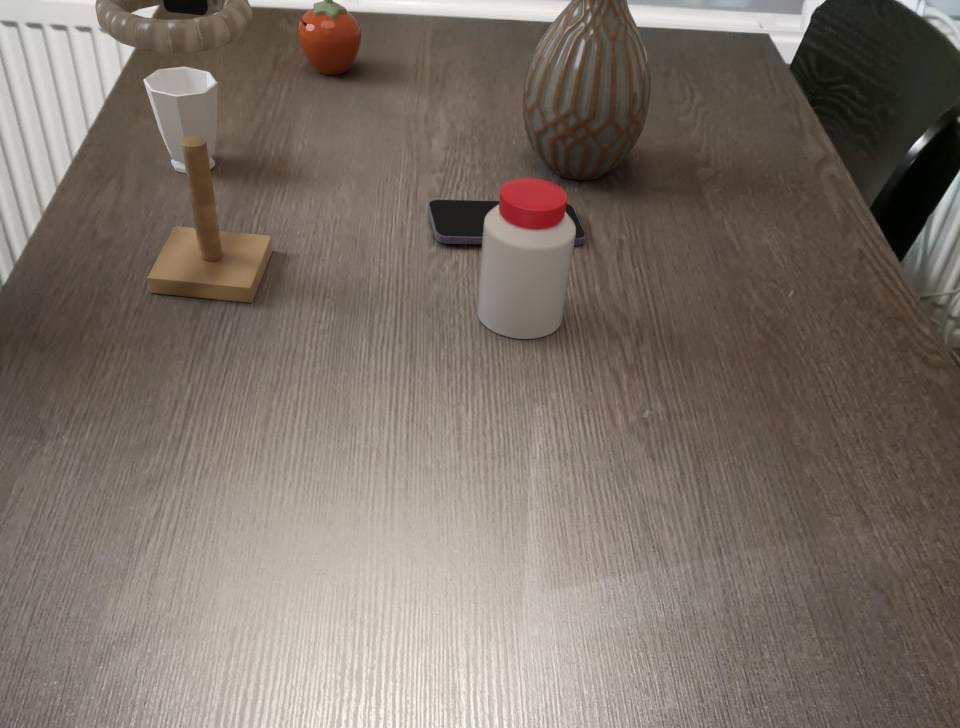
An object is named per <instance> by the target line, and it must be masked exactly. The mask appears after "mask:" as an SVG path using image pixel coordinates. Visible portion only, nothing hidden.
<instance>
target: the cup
mask: <svg viewBox="0 0 960 728" xmlns="http://www.w3.org/2000/svg"><path fill="white" fill-rule="evenodd" d="M143 84H144V87H145V90H146V93H147V96H148V99H149V101H150V105H151V109H152V112H153V115H154V118H155V121H156V124H157V127H158V131H159V133H160V135H161V137H162V140H163V141H164V142H163V143H164V144H165V145H164V146H165V147H166V149H167V152H168V153H169V155H170V156H171V158H172V159H170V162H171V165H172V167H173V168H174V170H175V172H179V173H183V174H186V169H185V163H184V156H183V150H182V144H181V140H182V139H183V138H184V137H187V136H201V137H203V138H205V139H206V142H207V149H208V156H209V163H210V170H212V169H213V168H214V167H215V166H216V162H215V160H214V158H213V156H214V155H215V153H216V147H217V146H216V145H217V137H218V89H219V87H218V86H219V85H218V81H217V80H216V79H215V78H214V76H213V75H212V74H211V72H210V71H207V70H202V69H197V68H193V67H189V66H185V65H183V66H177V67H167V68H159V69H156V70H154V71H153V73H150V74H149V75H148V76H146V77H145V78H143Z"/></svg>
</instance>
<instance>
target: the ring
mask: <svg viewBox="0 0 960 728" xmlns="http://www.w3.org/2000/svg"><path fill="white" fill-rule="evenodd" d="M207 4H208V10H209V9H210V10H213V11H216V12H215V13H212V14H208V15H202V16H198V17H194V18H178V19H166V18H165V19H164V18H156V17H155V18H154V17H145V16H141V15H138V14H135V13H134V12H137V11H139V10H142V9H147V8H153V7H157V6H164V3H163V0H96V1H95V6H94V8H95V15H96V18H97V22H98V25H99V26H100V28H101V29H102V30H103V32H104V33H105V34H106V35H108V36H110V37H111V38H113V39H114V40H116V41H117V42H118V43H120V44H123V45H126V46H129V47H132V48H135V49H138V50H141V51H142V50H143V51H145V52H146V51H147V52H154V53H155V52H156V53H165V54H185V53H200V52H206V51H210V50H214V49H219V48H222V47H226V46H227V45H230V44H231V43H233V42H235V41H237V40H239V39H241V38H242V37H244V36H245V34H246V33H247V31H248V29H249V28H250V26H251V24H252V22H253V18H254V15H253V9H252V7H251V4H250V2H249V0H207Z"/></svg>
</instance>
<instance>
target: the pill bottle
mask: <svg viewBox="0 0 960 728" xmlns="http://www.w3.org/2000/svg"><path fill="white" fill-rule="evenodd" d="M498 201H499V204H498V205H497V206H495V207H494V208H492V209H491V210H490V211H489V212H488V213H487V215H486V217H485V219H484V226H483V239H482V244H481V254H480V265H479V267H480V268H479V280H478V291H477V292H478V293H477V303H476V315H477V317H478V320H479V321H480V322H481V323H482V325H484V327H486V328H487V329H489V330H490V331H492V332H493V333H496V334H497V335H500V336H504V337H507V338H512V339H517V340H518V339H519V340H533V339H539V338H543V337H547V336H549V335H551V334H553V333H554V332H556V331H558V329H559V328H560V327H561V326H562V323H563V319H564V313H565V307H566V301H567V293H568V288H569V279H570V274H571V270H572V269H571V267H572V262H573V255H574V248H575V246H574V243H575V236H576V226H575V223H574V221H573V220H572V219H571V217H570V216H569V215H568V214H567V213H566V211H565V210H566V204H568V203H567V202H568V194H567V192H566V191H565V189H563V188H562V187H561V186H560V185H558V184H557V183H554V182H553V181H550V180H546V179H542V178H535V177H521V178H516V179H515V178H514V179H512V180H509V181H507V182H505V183H504V184H503V185H502V186H501V187H500V190H499V200H498Z"/></svg>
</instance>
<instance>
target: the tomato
mask: <svg viewBox="0 0 960 728" xmlns="http://www.w3.org/2000/svg"><path fill="white" fill-rule="evenodd" d="M297 35H298V40H299V44H300V47H301V49H302V52H303V53H304V54H303V55H304V56H305V58H306V60H307V61H308V63H309V65H311V66H312V68H314V70H315V71H316V72H318V73H319V74H322V75H326V76H337V75H341V74H344V73H346V72H347V71H348V70H349V69H350V68H351V67H352V65H353V64H354V62H355V61H356V59H357V56H358V53H359V50H360V46H361V41H362V32H361V26H360V25H359V22H358V20H357V18H356V17H355V16H354V15H353V14H352V13H350V11H348V10H347V8H346V7H345V6H343V5H342V4H339V3H337V2H336V1H334V0H322V1H317V2H314V3H313V8H311V9H308V10H307V11H306V12H305V13H304V14H303V15H302V16H301V18H300V21H299V23H298V26H297Z"/></svg>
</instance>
